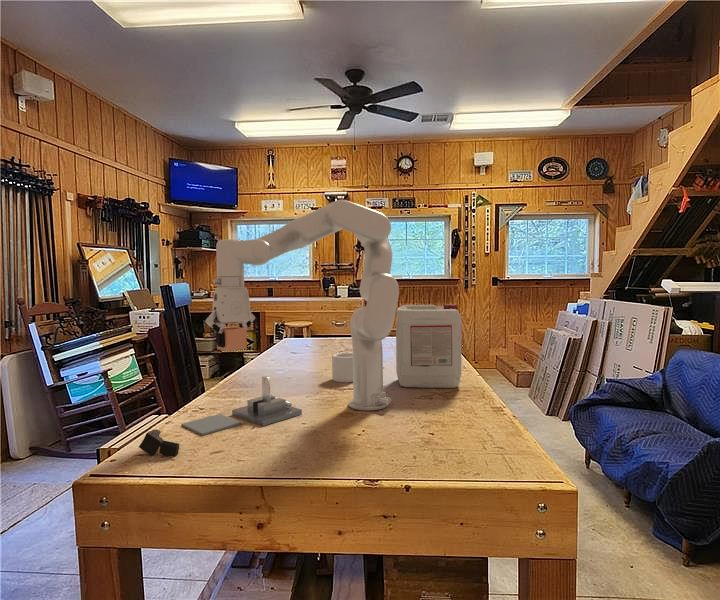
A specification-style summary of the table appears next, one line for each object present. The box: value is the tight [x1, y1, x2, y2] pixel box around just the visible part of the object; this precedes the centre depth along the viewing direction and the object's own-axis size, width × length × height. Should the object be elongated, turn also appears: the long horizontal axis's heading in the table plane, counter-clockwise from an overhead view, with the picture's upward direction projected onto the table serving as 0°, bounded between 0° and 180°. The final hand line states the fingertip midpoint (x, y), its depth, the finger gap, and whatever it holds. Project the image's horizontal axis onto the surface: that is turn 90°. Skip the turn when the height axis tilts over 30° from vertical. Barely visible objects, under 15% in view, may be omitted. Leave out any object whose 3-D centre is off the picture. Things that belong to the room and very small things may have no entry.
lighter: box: [138, 429, 180, 457], centre depth 111 cm, size 9×2×6 cm
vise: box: [231, 375, 303, 427], centre depth 140 cm, size 16×14×12 cm
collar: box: [216, 326, 248, 352], centre depth 134 cm, size 6×6×6 cm
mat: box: [181, 413, 243, 437], centre depth 132 cm, size 12×12×1 cm
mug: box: [331, 352, 353, 383], centre depth 185 cm, size 14×11×10 cm
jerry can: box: [395, 303, 463, 389], centre depth 175 cm, size 24×19×30 cm
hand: (231, 344), depth 134 cm, fingers closed on collar, 6 cm apart
